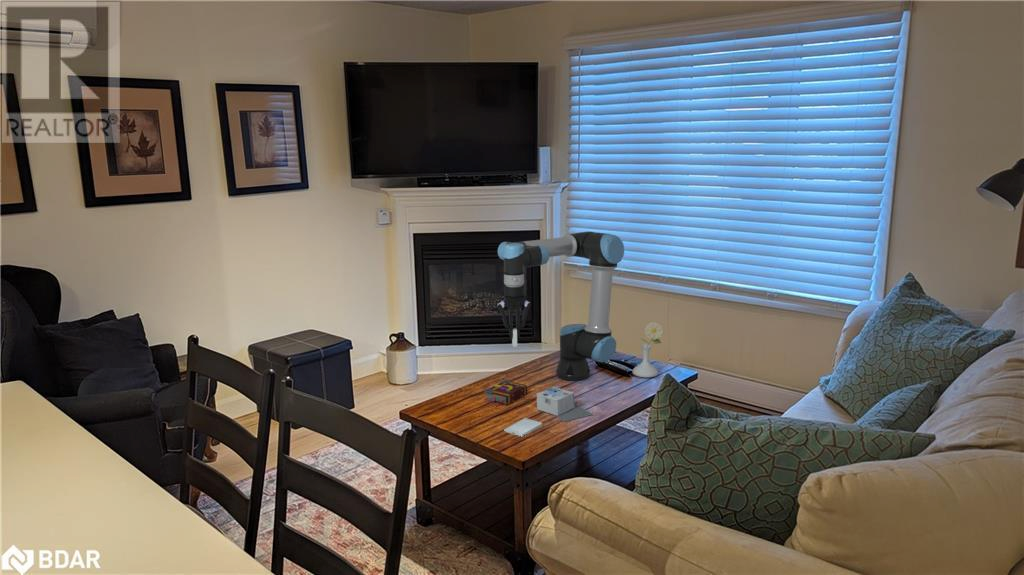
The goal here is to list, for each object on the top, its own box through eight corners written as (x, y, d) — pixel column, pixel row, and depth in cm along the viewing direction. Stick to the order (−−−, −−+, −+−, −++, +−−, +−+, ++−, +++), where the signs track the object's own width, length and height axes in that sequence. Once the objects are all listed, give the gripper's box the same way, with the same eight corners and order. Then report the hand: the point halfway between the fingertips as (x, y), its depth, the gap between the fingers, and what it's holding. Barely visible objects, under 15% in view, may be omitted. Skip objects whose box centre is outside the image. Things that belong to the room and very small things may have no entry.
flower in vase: (629, 378, 304) (631, 323, 299) (635, 370, 314) (637, 316, 309) (659, 381, 299) (661, 326, 294) (664, 373, 309) (666, 319, 304)
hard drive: (524, 417, 260) (504, 428, 250) (542, 422, 255) (522, 434, 245) (524, 421, 260) (504, 432, 250) (542, 427, 255) (522, 438, 246)
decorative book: (527, 395, 286) (527, 383, 285) (505, 407, 273) (505, 395, 272) (505, 389, 292) (505, 378, 291) (482, 402, 279) (482, 390, 278)
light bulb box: (536, 393, 268) (553, 385, 275) (536, 409, 269) (553, 401, 277) (557, 400, 261) (575, 391, 268) (557, 416, 262) (575, 408, 270)
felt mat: (569, 401, 278) (569, 400, 278) (593, 415, 264) (593, 414, 264) (542, 407, 272) (542, 407, 271) (564, 422, 258) (564, 421, 258)
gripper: (498, 287, 254) (499, 349, 259) (533, 286, 256) (533, 347, 261) (495, 283, 261) (496, 343, 266) (529, 282, 263) (529, 341, 268)
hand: (514, 345), depth 263 cm, fingers closed
